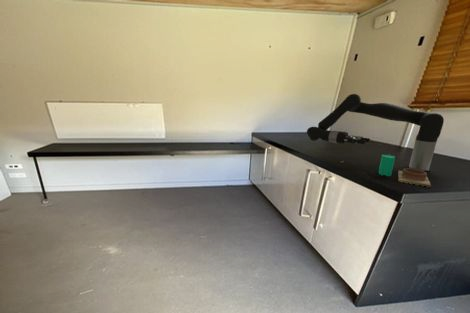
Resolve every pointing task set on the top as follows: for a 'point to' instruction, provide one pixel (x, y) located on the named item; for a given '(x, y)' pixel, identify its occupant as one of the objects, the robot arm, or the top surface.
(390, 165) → the candle
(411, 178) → the cup stand
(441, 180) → the top surface
